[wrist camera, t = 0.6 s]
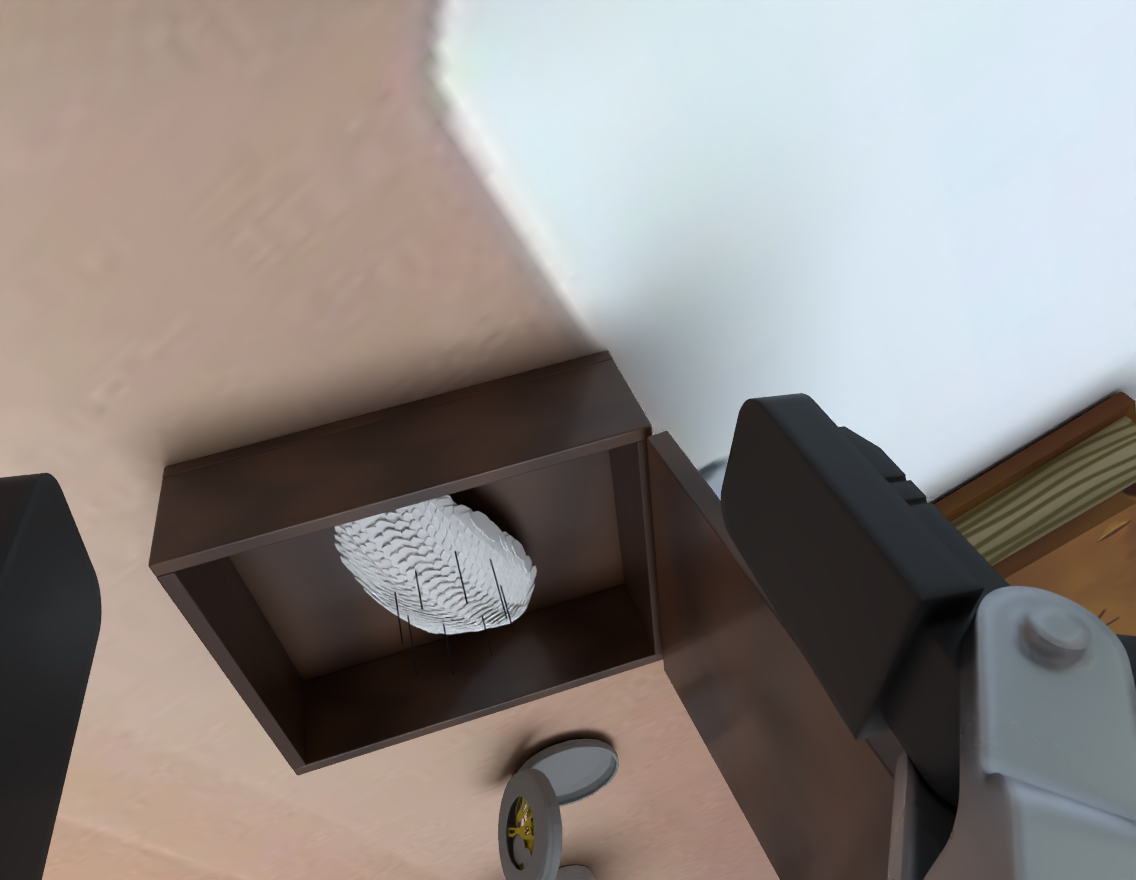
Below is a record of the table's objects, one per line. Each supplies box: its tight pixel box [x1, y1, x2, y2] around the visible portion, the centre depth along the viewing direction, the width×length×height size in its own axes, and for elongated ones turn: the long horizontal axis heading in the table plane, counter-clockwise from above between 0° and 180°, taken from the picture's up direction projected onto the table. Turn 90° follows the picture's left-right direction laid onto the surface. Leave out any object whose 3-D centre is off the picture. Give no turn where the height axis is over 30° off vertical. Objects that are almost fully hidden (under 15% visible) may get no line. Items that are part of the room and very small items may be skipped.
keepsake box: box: [149, 351, 663, 775], centre depth 34 cm, size 17×14×5 cm
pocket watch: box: [498, 739, 619, 880], centre depth 46 cm, size 8×8×10 cm
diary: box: [934, 391, 1136, 636], centre depth 49 cm, size 23×19×6 cm
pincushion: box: [334, 495, 537, 678], centre depth 33 cm, size 12×6×6 cm, turn 33°
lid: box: [647, 431, 903, 880], centre depth 26 cm, size 18×14×1 cm
